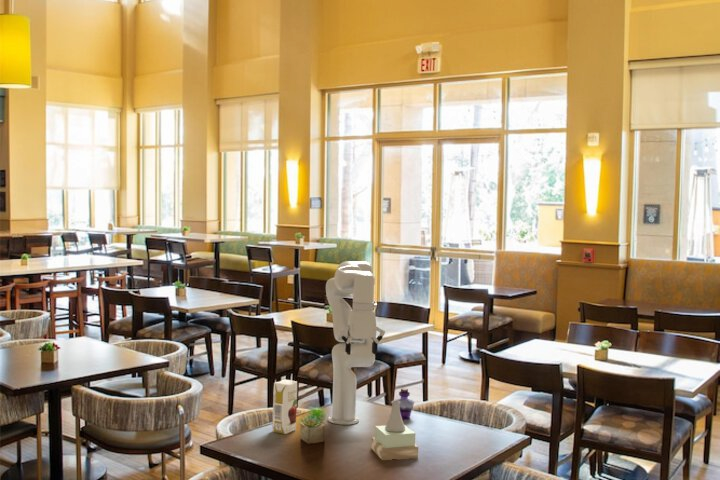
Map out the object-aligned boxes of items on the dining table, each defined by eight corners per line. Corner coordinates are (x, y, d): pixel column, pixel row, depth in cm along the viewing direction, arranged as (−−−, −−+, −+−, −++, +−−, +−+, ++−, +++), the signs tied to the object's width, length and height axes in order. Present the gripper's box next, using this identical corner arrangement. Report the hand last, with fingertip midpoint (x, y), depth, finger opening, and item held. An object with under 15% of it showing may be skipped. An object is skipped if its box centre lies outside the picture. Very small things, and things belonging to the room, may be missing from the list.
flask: (405, 433, 256) (406, 404, 255) (384, 432, 256) (385, 404, 255) (405, 426, 263) (405, 399, 262) (384, 426, 263) (385, 398, 263)
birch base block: (371, 449, 265) (371, 437, 265) (405, 447, 268) (405, 435, 268) (382, 461, 252) (382, 448, 252) (417, 459, 256) (418, 446, 256)
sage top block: (374, 438, 263) (375, 426, 263) (403, 436, 267) (403, 424, 267) (385, 448, 253) (385, 435, 253) (414, 445, 256) (415, 433, 256)
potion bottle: (403, 413, 312) (404, 385, 312) (418, 418, 306) (419, 389, 305) (388, 416, 307) (389, 388, 306) (402, 421, 300) (403, 392, 300)
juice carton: (269, 432, 280) (271, 382, 279) (282, 426, 287) (283, 378, 287) (286, 435, 276) (287, 385, 275) (298, 429, 284) (300, 381, 283)
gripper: (382, 305, 273) (380, 351, 273) (337, 305, 268) (335, 352, 269) (388, 308, 266) (386, 355, 266) (342, 308, 261) (340, 356, 262)
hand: (361, 353), depth 268 cm, fingers open, 9 cm apart
